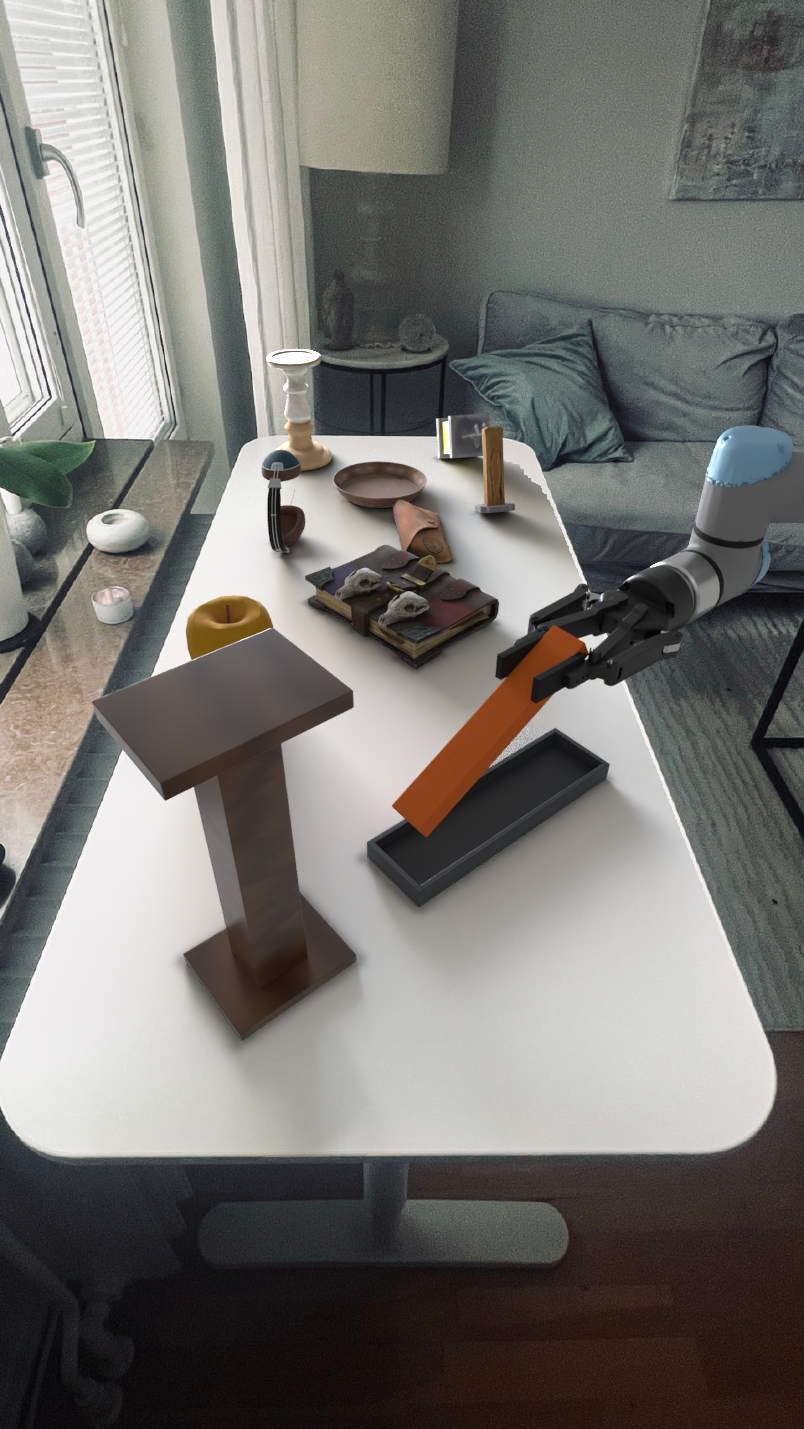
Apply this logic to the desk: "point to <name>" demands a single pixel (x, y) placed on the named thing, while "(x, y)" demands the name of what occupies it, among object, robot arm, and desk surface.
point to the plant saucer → (379, 483)
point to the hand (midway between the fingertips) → (516, 678)
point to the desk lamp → (477, 453)
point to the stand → (241, 809)
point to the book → (403, 602)
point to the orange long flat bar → (483, 736)
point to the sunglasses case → (420, 532)
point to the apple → (224, 623)
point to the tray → (488, 815)
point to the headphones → (281, 519)
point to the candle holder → (299, 407)
